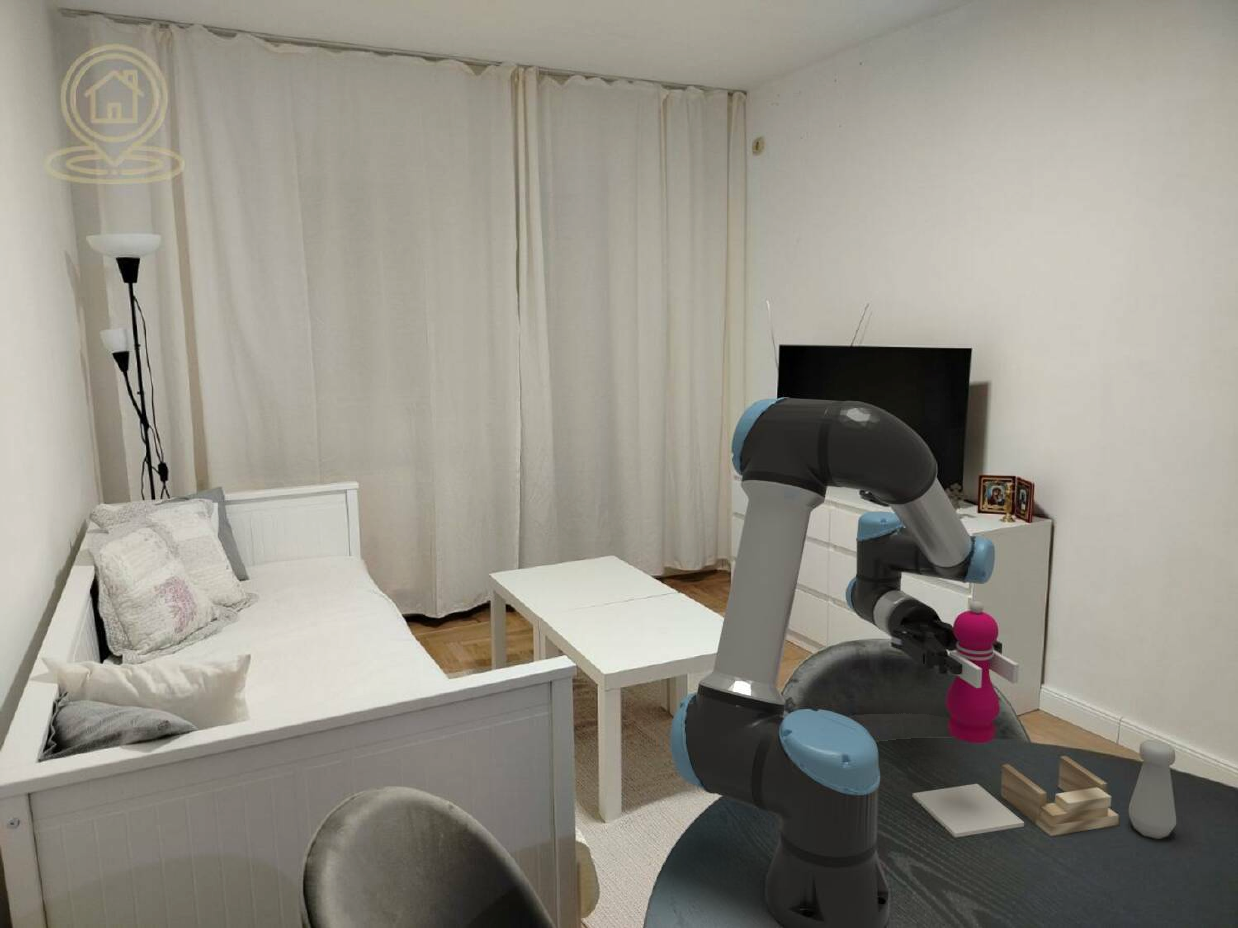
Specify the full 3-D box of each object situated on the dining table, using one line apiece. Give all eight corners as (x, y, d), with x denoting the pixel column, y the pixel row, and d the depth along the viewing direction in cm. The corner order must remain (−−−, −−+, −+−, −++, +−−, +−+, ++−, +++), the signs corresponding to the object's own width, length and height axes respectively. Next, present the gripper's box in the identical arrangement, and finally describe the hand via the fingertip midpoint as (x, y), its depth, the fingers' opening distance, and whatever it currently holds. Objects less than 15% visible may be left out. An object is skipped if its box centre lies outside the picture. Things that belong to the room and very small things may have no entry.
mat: (954, 837, 124) (955, 833, 123) (912, 796, 134) (912, 793, 134) (1024, 826, 126) (1024, 822, 126) (977, 787, 137) (977, 783, 136)
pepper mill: (989, 722, 132) (995, 593, 128) (1005, 745, 125) (1011, 610, 121) (939, 721, 132) (943, 593, 129) (952, 744, 125) (957, 609, 122)
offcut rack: (1050, 835, 123) (1052, 802, 123) (1000, 795, 134) (1002, 764, 133) (1118, 824, 126) (1120, 792, 125) (1063, 785, 136) (1065, 755, 136)
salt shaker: (1139, 814, 128) (1146, 730, 126) (1182, 832, 124) (1190, 745, 122) (1119, 828, 125) (1126, 742, 123) (1162, 847, 120) (1170, 758, 118)
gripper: (956, 636, 147) (1053, 694, 124) (856, 648, 143) (937, 709, 120) (957, 593, 145) (1056, 643, 123) (857, 603, 141) (939, 657, 119)
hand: (997, 675), depth 122 cm, fingers closed on pepper mill, 5 cm apart
